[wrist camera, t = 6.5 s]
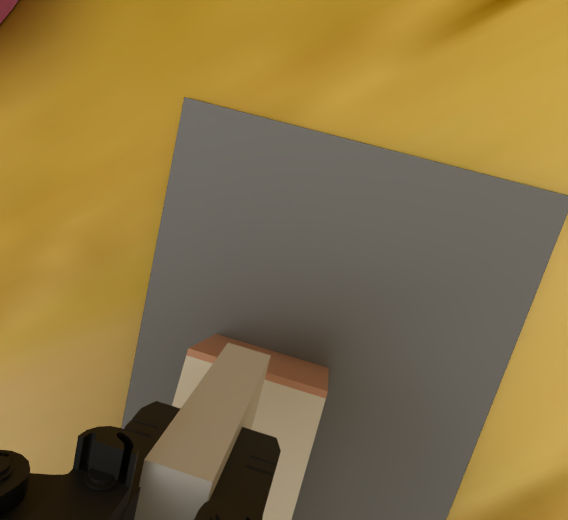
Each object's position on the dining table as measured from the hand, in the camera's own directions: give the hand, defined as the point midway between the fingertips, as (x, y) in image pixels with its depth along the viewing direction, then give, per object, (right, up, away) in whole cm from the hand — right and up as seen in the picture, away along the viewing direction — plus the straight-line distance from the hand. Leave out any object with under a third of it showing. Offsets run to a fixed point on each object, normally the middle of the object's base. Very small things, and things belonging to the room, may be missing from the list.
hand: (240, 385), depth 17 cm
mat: (+3, -1, +9) cm, 9 cm away
